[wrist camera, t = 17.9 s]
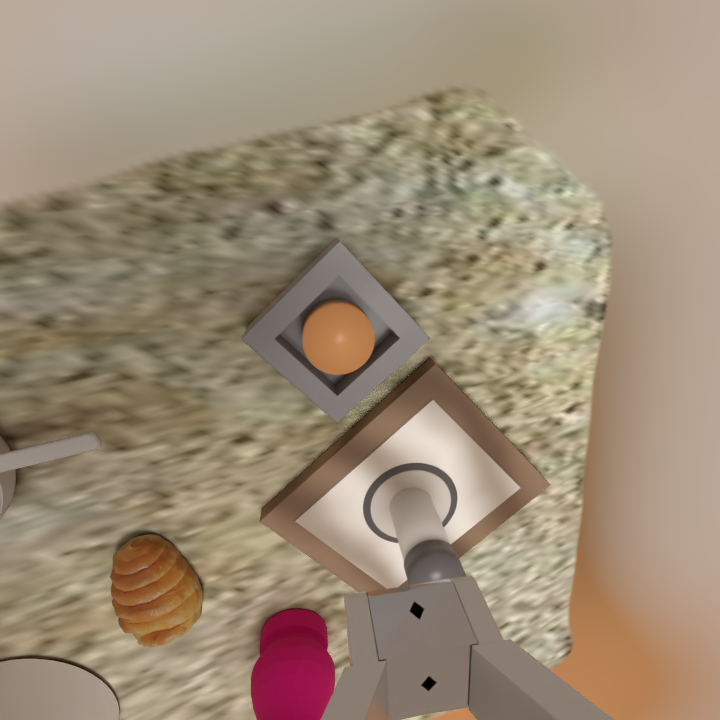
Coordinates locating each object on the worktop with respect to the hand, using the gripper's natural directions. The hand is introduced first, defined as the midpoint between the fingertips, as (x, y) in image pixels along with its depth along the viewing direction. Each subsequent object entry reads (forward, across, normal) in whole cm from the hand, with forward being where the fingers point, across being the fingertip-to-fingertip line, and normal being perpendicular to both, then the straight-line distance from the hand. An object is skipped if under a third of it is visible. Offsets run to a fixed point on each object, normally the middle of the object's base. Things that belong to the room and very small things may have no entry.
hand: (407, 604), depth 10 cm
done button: (+23, 0, 0) cm, 23 cm away
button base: (+24, 0, 0) cm, 24 cm away
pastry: (+24, +17, +21) cm, 37 cm away
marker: (+22, -5, +15) cm, 27 cm away
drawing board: (+24, -5, +15) cm, 29 cm away
